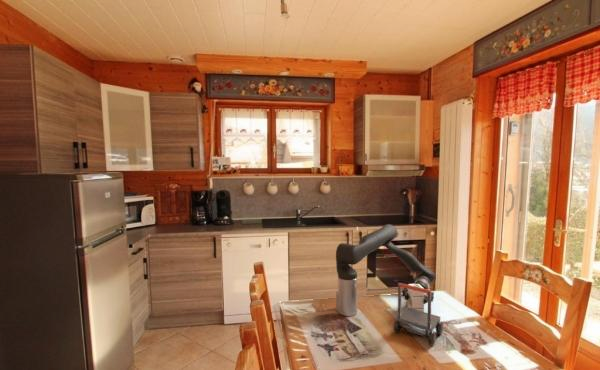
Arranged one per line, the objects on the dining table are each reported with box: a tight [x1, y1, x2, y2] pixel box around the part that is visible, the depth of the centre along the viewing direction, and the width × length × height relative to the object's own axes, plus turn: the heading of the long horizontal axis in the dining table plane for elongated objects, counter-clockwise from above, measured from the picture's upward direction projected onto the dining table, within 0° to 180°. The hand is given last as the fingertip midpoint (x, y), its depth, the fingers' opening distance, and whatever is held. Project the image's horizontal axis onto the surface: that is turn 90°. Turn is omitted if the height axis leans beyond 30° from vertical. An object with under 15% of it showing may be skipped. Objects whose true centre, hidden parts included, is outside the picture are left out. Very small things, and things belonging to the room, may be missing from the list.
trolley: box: [393, 282, 444, 346], centre depth 125 cm, size 15×15×21 cm
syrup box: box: [407, 283, 425, 312], centre depth 139 cm, size 6×6×14 cm
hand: (415, 299), depth 137 cm, fingers closed on syrup box, 7 cm apart
